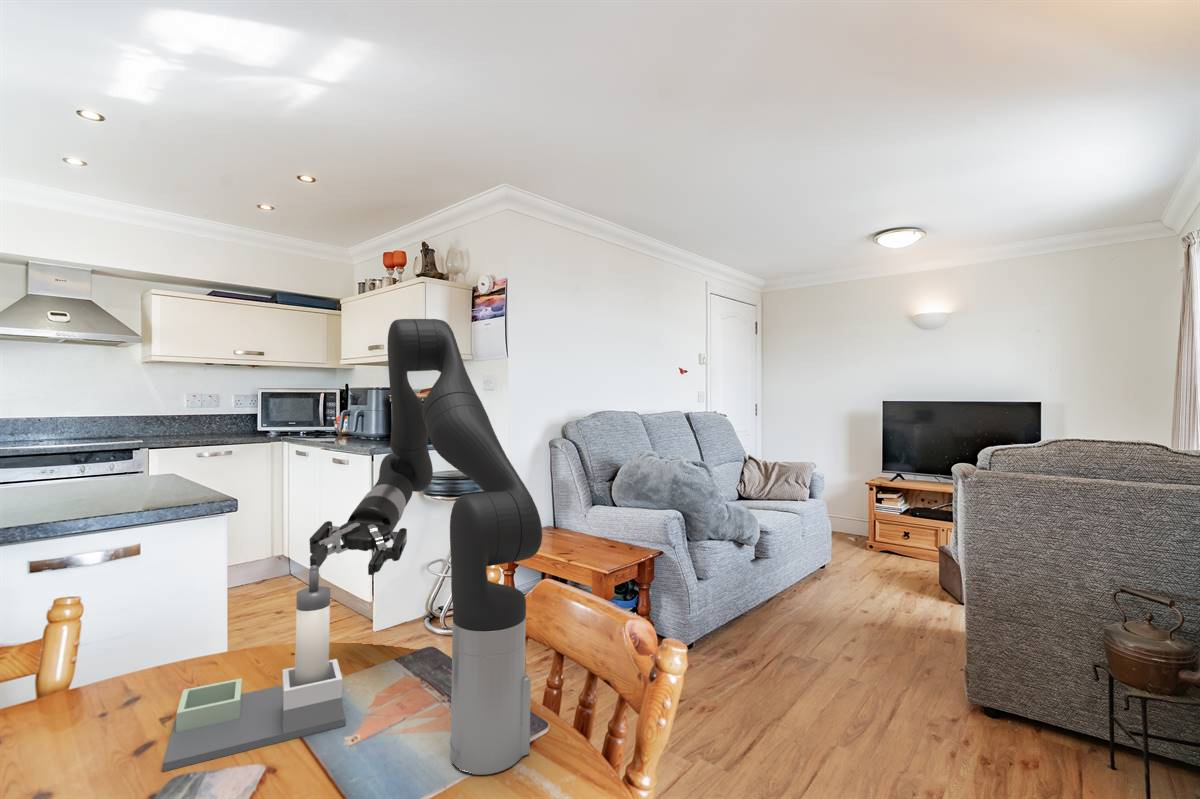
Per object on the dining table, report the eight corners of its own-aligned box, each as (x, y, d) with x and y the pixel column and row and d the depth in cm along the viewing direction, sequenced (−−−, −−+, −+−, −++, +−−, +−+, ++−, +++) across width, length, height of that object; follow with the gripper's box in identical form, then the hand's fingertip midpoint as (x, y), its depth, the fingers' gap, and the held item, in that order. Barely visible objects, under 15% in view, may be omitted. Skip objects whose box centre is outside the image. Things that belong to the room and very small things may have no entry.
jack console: (334, 680, 90) (335, 639, 90) (345, 725, 77) (346, 678, 78) (178, 713, 80) (179, 667, 80) (162, 771, 67) (164, 717, 67)
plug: (326, 682, 81) (329, 559, 82) (329, 695, 78) (332, 567, 78) (293, 689, 79) (296, 563, 79) (295, 703, 76) (297, 571, 76)
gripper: (338, 490, 100) (293, 542, 85) (419, 498, 101) (389, 551, 86) (339, 527, 103) (296, 584, 87) (418, 534, 104) (389, 592, 88)
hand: (342, 567), depth 87 cm, fingers open, 8 cm apart
